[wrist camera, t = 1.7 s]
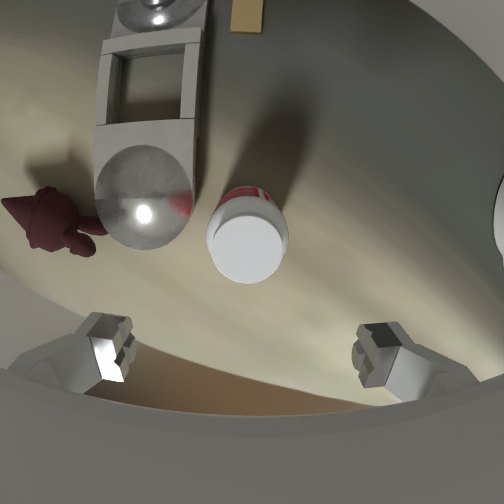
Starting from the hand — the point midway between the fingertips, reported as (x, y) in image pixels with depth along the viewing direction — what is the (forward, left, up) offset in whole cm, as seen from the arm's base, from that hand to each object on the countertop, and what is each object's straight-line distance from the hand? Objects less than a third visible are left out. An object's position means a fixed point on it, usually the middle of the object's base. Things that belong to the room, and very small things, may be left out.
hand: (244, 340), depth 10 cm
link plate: (+1, -23, -21) cm, 31 cm away
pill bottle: (0, 0, -21) cm, 21 cm away
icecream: (+22, 0, -21) cm, 30 cm away
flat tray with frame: (+10, -13, -21) cm, 26 cm away
